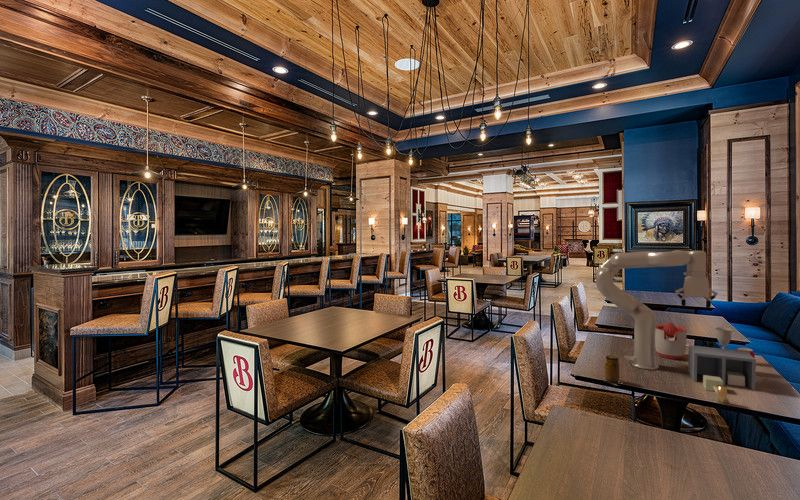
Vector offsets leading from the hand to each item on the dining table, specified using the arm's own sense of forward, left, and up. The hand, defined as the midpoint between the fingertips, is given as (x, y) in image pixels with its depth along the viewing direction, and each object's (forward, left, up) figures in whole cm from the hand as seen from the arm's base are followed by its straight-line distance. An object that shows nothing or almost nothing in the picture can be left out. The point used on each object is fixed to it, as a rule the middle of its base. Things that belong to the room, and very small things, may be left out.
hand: (695, 307), depth 192 cm
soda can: (+22, +10, -34) cm, 41 cm away
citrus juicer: (-8, +22, -34) cm, 41 cm away
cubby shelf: (+8, -10, -33) cm, 36 cm away
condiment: (-37, -34, -34) cm, 60 cm away
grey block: (+13, -11, -34) cm, 38 cm away
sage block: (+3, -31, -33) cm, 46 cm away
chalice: (+17, +27, -34) cm, 46 cm away
